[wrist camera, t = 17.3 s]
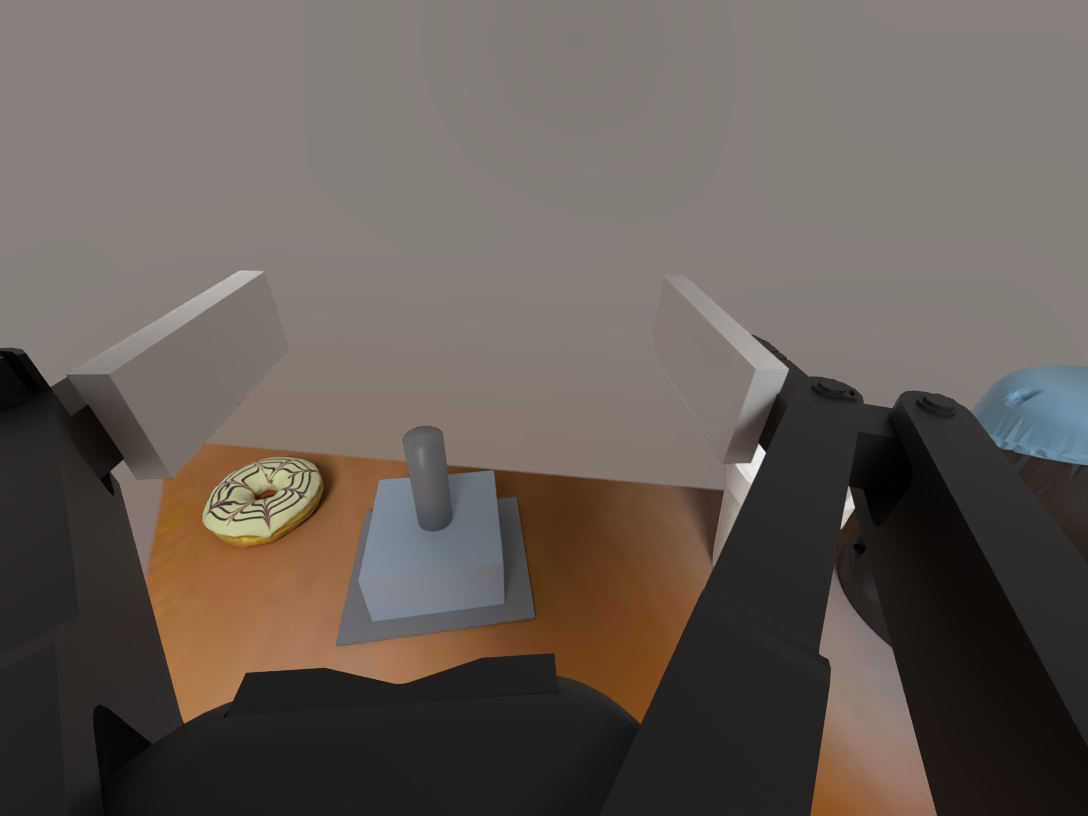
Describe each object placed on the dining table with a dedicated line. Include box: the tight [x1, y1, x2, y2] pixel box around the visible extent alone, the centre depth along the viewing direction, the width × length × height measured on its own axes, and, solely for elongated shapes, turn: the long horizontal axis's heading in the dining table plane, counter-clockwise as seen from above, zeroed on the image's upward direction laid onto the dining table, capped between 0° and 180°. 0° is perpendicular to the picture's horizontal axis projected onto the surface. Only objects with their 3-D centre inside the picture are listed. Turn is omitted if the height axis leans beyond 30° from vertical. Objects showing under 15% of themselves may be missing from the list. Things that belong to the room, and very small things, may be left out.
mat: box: [336, 497, 535, 647], centre depth 41 cm, size 16×14×1 cm
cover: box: [358, 426, 505, 622], centre depth 37 cm, size 11×11×15 cm
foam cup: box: [712, 445, 855, 567], centre depth 38 cm, size 10×9×13 cm
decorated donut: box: [203, 457, 323, 548], centre depth 45 cm, size 10×11×4 cm
